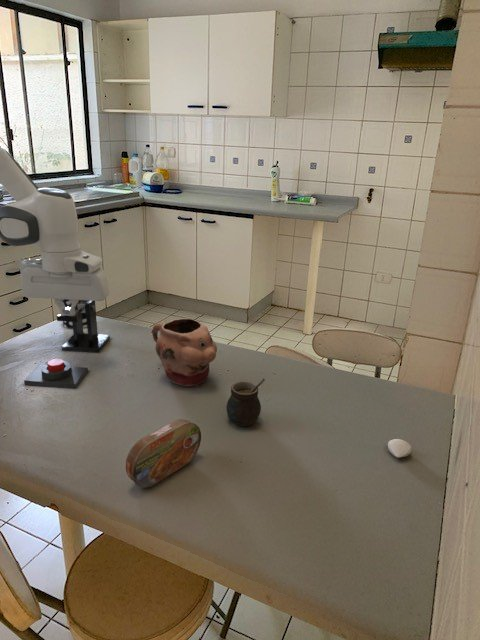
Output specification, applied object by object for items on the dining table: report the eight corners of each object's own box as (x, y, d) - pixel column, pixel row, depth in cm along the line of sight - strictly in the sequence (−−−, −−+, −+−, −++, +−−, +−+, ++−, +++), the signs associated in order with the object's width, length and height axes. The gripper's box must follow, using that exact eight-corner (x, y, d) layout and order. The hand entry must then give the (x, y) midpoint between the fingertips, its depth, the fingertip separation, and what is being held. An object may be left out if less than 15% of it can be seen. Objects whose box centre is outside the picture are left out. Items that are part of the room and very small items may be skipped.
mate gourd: (222, 412, 100) (224, 371, 96) (257, 409, 101) (259, 368, 97) (229, 432, 93) (230, 388, 89) (265, 428, 95) (268, 386, 91)
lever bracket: (99, 352, 123) (95, 307, 118) (62, 350, 124) (56, 305, 119) (109, 338, 132) (106, 296, 127) (75, 336, 132) (70, 294, 127)
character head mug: (134, 374, 113) (131, 321, 108) (166, 355, 123) (165, 307, 118) (200, 399, 104) (200, 343, 99) (229, 377, 114) (231, 325, 108)
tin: (135, 497, 76) (132, 455, 73) (123, 487, 78) (121, 446, 74) (202, 455, 86) (202, 416, 83) (191, 447, 88) (191, 409, 85)
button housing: (24, 385, 107) (22, 373, 105) (40, 368, 114) (39, 357, 113) (75, 388, 106) (74, 377, 105) (88, 371, 113) (87, 360, 112)
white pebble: (410, 450, 90) (413, 440, 89) (408, 466, 86) (410, 455, 85) (388, 444, 91) (390, 433, 90) (384, 459, 87) (386, 448, 86)
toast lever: (77, 324, 114) (76, 314, 113) (57, 323, 114) (56, 313, 113) (94, 310, 125) (94, 301, 124) (76, 309, 125) (75, 300, 124)
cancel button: (45, 371, 107) (44, 365, 107) (52, 364, 111) (51, 358, 110) (60, 372, 107) (59, 366, 107) (66, 365, 111) (66, 359, 110)
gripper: (11, 261, 106) (20, 317, 111) (99, 266, 105) (104, 322, 110) (25, 254, 112) (32, 308, 117) (108, 259, 111) (112, 312, 116)
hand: (68, 315), depth 114 cm, fingers closed
